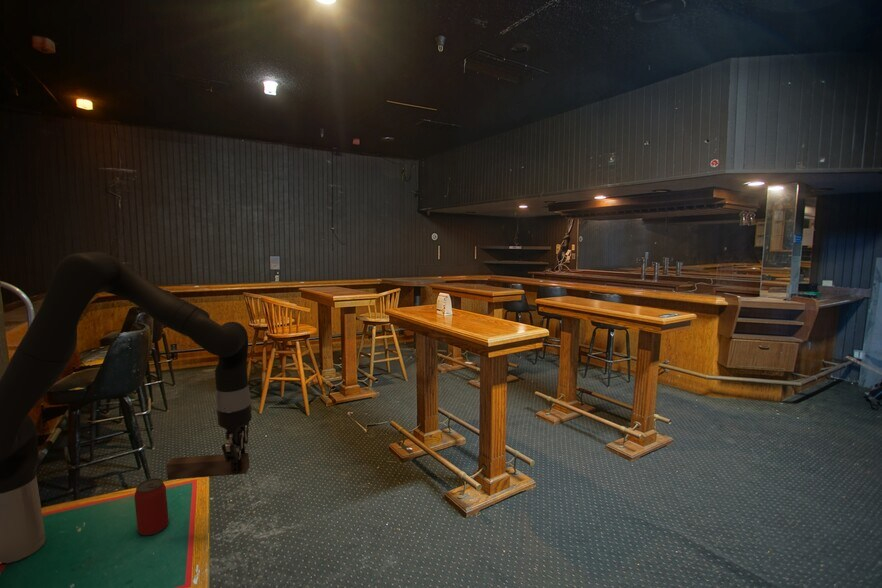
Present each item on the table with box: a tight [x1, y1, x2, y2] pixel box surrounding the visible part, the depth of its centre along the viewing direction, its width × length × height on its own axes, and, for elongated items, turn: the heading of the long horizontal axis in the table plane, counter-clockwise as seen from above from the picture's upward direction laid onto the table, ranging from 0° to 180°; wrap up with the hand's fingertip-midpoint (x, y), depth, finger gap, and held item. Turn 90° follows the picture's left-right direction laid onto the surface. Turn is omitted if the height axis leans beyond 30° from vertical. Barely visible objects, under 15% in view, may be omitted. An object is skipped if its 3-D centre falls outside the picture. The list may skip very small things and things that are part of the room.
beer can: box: [133, 477, 170, 536], centre depth 108 cm, size 7×7×12 cm
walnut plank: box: [165, 452, 250, 481], centre depth 107 cm, size 18×3×4 cm, turn 99°
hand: (239, 468), depth 108 cm, fingers closed on walnut plank, 3 cm apart
